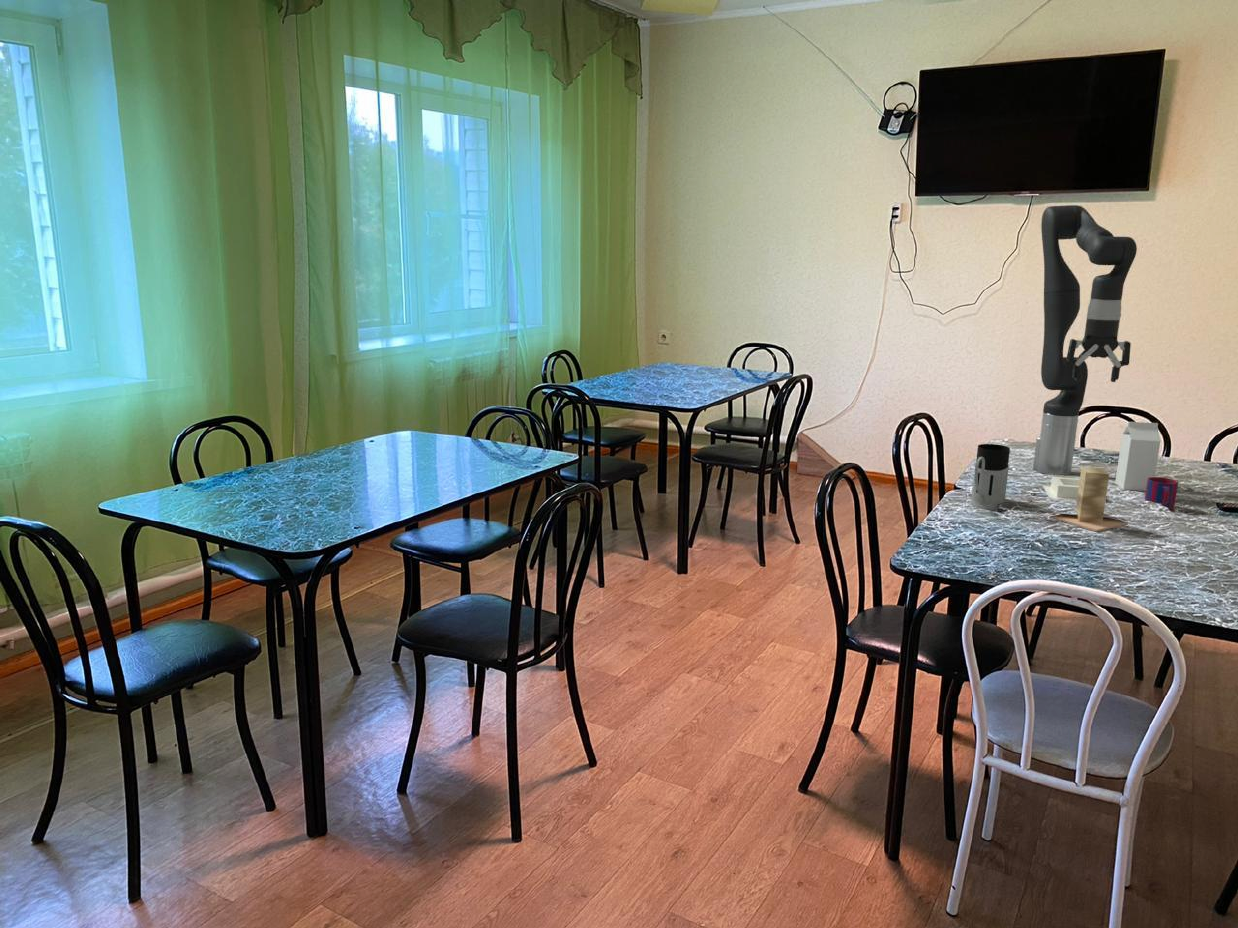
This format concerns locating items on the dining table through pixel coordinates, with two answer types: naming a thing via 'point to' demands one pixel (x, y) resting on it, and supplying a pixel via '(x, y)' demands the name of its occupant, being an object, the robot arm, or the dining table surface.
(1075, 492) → the socket stand
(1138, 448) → the milk carton
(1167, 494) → the mug
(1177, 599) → the dining table surface
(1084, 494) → the oak bar
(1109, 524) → the terracotta mat
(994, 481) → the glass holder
